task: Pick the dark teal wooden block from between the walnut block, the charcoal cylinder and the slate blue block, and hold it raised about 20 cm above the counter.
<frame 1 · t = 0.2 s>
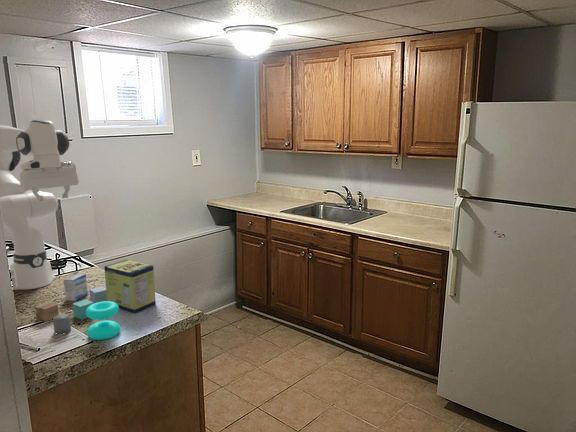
hand: (53, 199, 175), 39 cm above the worktop, tool pointing down, fingers open, 8 cm apart
charcoal cylinder: (62, 331, 152), on the worktop
walnut block: (47, 318, 162), on the worktop
teal block: (84, 316, 165), on the worktop
protein box: (131, 305, 175), on the worktop
slate blue block: (99, 301, 178), on the worktop
donuts: (104, 334, 150), on the worktop
medicine box: (76, 297, 182), on the worktop
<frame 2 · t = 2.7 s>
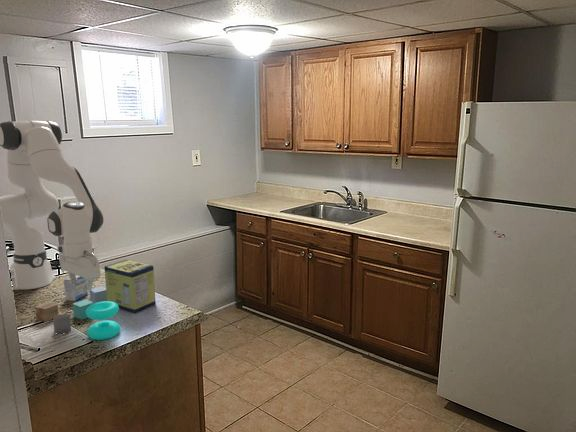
hand: (81, 286, 162), 11 cm above the worktop, tool pointing down, fingers open, 8 cm apart
nothing on the worktop moved.
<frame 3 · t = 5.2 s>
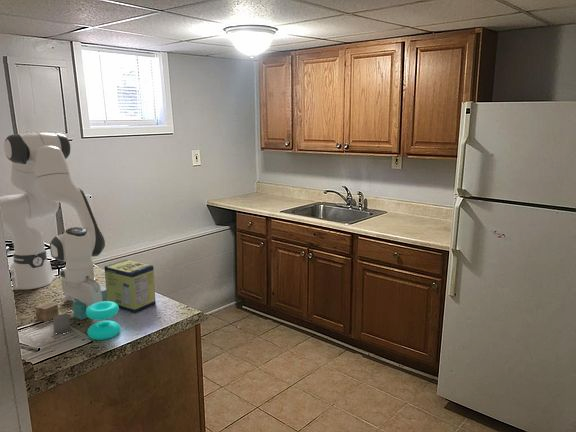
hand: (83, 310, 164), 2 cm above the worktop, tool pointing down, fingers closed on teal block, 5 cm apart
teal block: (84, 315, 165), on the worktop, touching gripper
everything else where it was.
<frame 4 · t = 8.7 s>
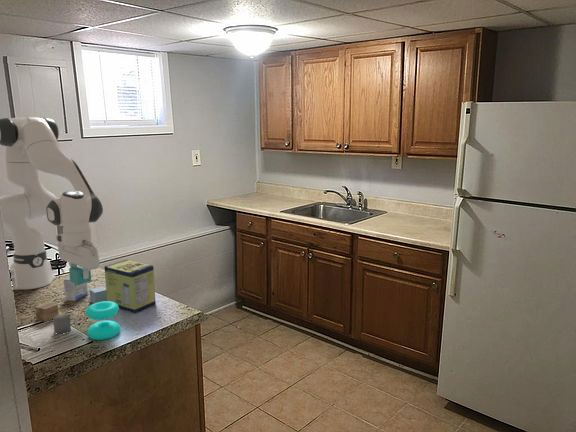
hand: (80, 276, 162), 15 cm above the worktop, tool pointing down, fingers closed on teal block, 5 cm apart
teal block: (80, 281, 162), point 13 cm above the worktop, touching gripper
everything else where it was.
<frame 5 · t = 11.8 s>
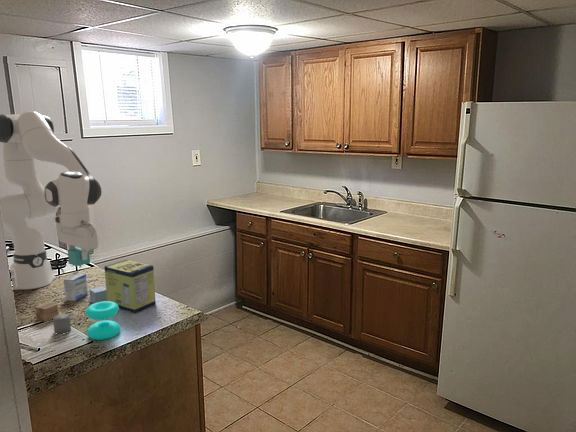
hand: (79, 257, 160), 22 cm above the worktop, tool pointing down, fingers closed on teal block, 5 cm apart
teal block: (79, 263, 161), point 20 cm above the worktop, touching gripper
everything else where it was.
at the end: the gripper is holding teal block; teal block point 19.6 cm above the worktop; walnut block moved 0.1 cm from its start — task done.
